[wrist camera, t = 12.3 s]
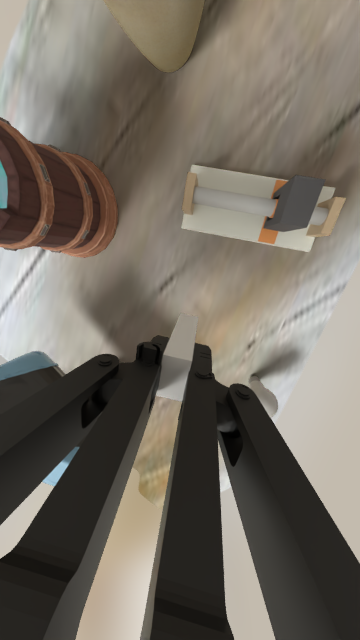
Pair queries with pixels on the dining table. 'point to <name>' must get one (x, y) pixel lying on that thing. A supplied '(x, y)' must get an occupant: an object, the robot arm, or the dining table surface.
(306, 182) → the dark grey slider block
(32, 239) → the mug
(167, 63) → the plant pot
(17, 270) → the dining table surface
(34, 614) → the robot arm
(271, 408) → the lightbulb
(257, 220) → the rail
